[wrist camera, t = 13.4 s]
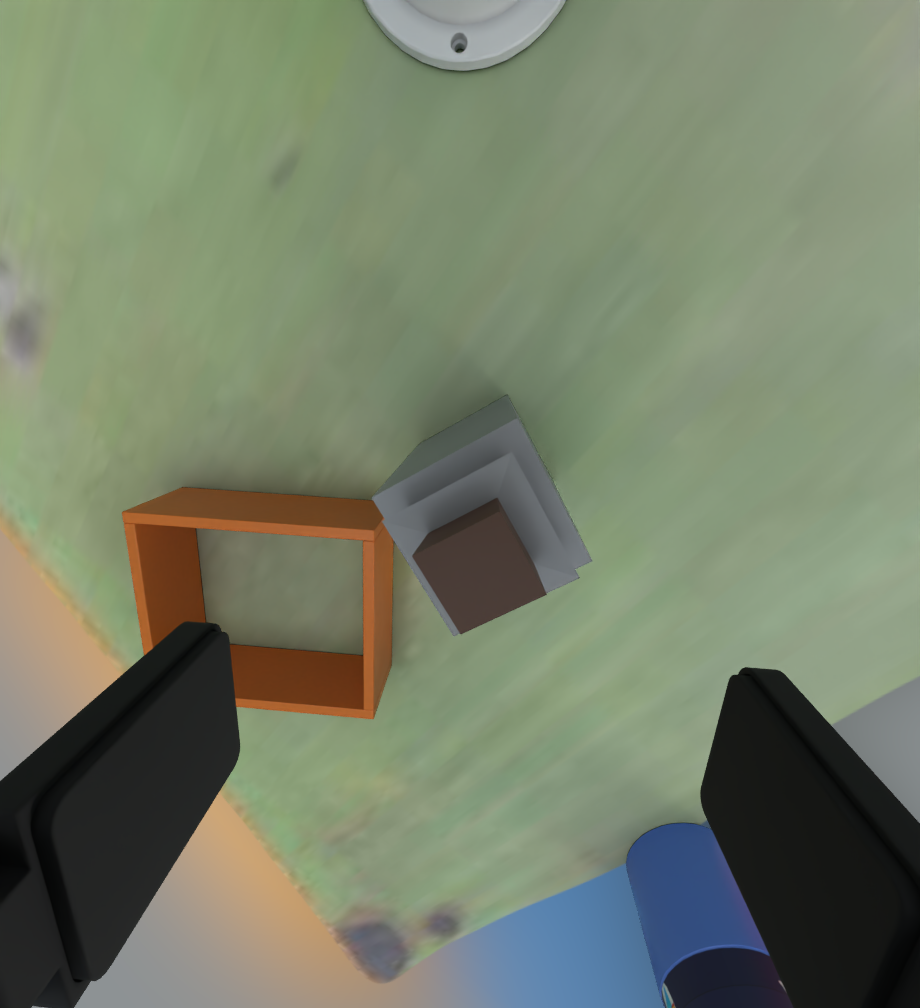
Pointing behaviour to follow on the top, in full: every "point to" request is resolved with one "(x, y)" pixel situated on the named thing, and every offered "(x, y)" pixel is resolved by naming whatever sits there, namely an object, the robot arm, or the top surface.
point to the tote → (260, 670)
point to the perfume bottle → (481, 519)
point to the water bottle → (699, 924)
